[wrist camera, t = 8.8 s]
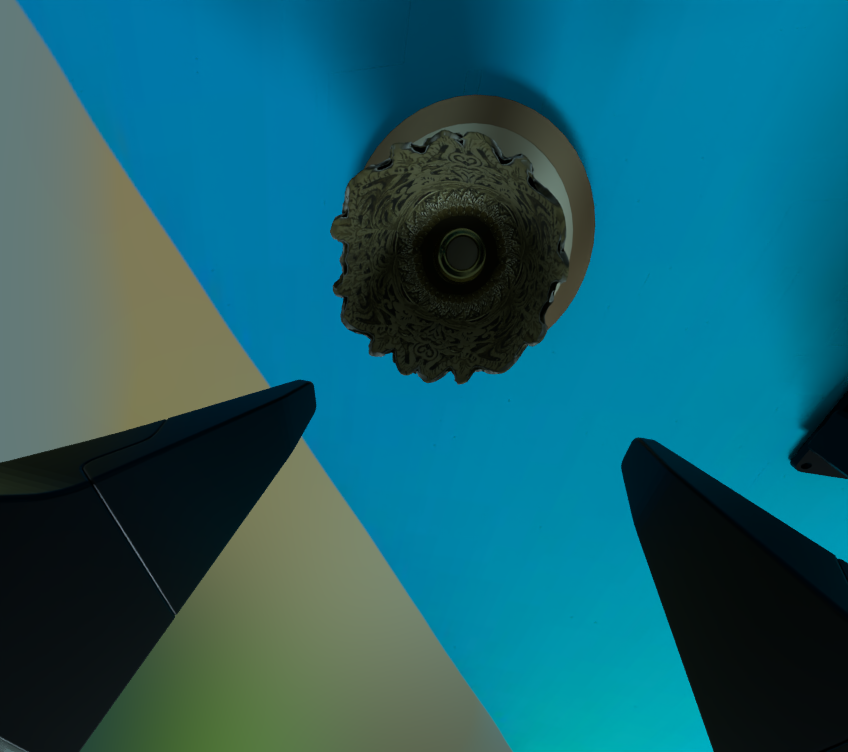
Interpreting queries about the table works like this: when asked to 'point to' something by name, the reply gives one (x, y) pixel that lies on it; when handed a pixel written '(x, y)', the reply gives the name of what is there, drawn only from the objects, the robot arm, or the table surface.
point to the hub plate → (514, 135)
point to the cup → (428, 264)
